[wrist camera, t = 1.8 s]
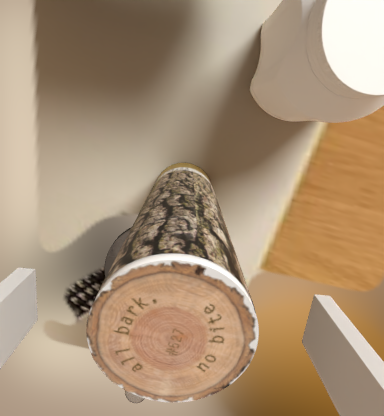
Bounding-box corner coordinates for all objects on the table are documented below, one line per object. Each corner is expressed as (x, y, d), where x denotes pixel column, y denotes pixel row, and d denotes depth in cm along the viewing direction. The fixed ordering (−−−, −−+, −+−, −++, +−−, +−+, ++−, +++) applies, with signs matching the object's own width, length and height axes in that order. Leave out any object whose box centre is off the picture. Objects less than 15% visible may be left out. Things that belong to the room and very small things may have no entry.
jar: (267, -4, 30) (342, -119, 15) (357, 13, 30) (511, -83, 16) (244, 114, 33) (287, 110, 18) (325, 127, 33) (429, 133, 19)
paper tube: (149, 207, 36) (71, 382, 12) (164, 154, 34) (106, 237, 10) (201, 222, 37) (225, 417, 13) (219, 171, 35) (286, 287, 11)
